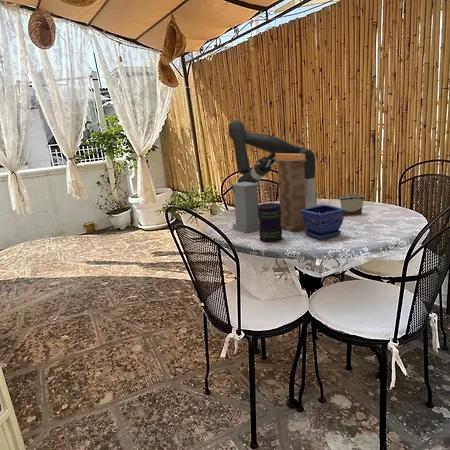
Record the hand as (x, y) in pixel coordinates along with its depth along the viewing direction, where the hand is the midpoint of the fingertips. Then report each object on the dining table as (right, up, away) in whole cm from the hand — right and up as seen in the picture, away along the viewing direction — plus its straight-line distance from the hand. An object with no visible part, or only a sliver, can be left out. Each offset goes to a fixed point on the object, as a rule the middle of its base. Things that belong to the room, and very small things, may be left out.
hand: (277, 153), depth 169 cm
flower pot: (+17, -39, -15) cm, 45 cm away
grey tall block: (-14, -36, +6) cm, 39 cm away
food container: (+40, -29, +15) cm, 52 cm away
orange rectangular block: (+3, -4, -5) cm, 7 cm away
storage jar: (-5, -40, -13) cm, 43 cm away
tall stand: (+8, -35, +1) cm, 36 cm away
